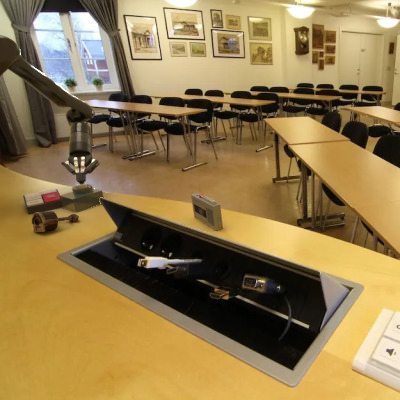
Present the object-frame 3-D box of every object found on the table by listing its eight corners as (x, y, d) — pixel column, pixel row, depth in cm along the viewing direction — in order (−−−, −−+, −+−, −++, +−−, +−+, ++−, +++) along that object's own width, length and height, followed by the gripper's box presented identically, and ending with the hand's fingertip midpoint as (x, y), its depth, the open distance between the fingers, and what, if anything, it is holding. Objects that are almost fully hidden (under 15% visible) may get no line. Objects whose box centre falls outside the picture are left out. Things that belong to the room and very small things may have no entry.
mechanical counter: (25, 213, 108) (25, 216, 100) (70, 200, 115) (73, 202, 108) (35, 233, 110) (35, 237, 102) (79, 219, 117) (82, 222, 110)
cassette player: (194, 217, 119) (190, 192, 115) (201, 215, 121) (197, 190, 117) (215, 230, 109) (212, 203, 106) (223, 228, 111) (220, 201, 107)
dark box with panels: (25, 205, 118) (22, 193, 128) (29, 216, 120) (25, 203, 129) (62, 198, 125) (56, 187, 135) (65, 208, 127) (59, 196, 137)
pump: (80, 190, 125) (79, 185, 124) (75, 189, 127) (73, 184, 126) (90, 188, 128) (88, 183, 127) (84, 186, 130) (83, 182, 129)
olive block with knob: (76, 212, 122) (70, 194, 119) (62, 208, 125) (57, 190, 123) (105, 203, 131) (100, 185, 128) (91, 199, 135) (87, 182, 132)
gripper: (57, 141, 127) (56, 179, 121) (96, 139, 132) (97, 176, 126) (65, 152, 133) (64, 188, 127) (102, 149, 138) (103, 185, 132)
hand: (81, 182), depth 126 cm, fingers closed
